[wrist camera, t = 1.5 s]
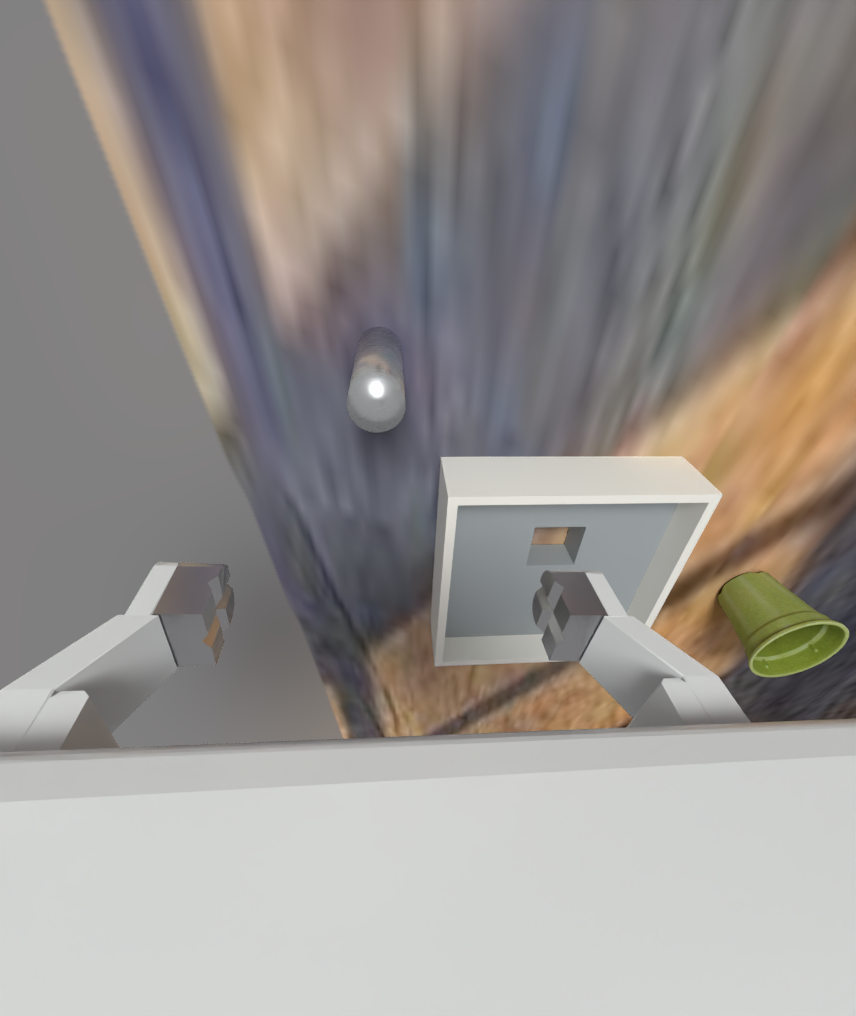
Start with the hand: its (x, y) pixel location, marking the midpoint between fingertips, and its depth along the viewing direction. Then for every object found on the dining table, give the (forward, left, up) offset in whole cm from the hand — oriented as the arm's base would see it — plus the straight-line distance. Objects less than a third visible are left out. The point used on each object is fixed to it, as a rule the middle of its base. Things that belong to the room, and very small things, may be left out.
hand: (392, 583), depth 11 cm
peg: (+1, +1, -25) cm, 25 cm away
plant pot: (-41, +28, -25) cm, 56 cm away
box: (-15, +21, -25) cm, 36 cm away
